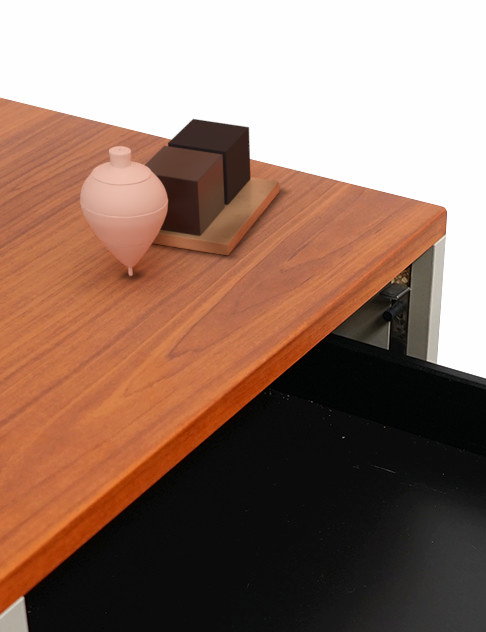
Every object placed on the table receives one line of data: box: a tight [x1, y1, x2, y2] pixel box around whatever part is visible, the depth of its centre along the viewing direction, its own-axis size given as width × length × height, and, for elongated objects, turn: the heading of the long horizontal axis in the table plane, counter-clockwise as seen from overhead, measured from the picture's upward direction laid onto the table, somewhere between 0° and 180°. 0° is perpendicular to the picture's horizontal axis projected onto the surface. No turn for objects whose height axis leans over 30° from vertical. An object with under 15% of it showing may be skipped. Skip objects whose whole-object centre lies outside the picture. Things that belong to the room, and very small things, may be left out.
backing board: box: [144, 145, 280, 256], centre depth 138 cm, size 12×16×7 cm
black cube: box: [167, 118, 251, 205], centre depth 141 cm, size 6×7×6 cm
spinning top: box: [79, 145, 168, 277], centre depth 125 cm, size 8×8×12 cm
